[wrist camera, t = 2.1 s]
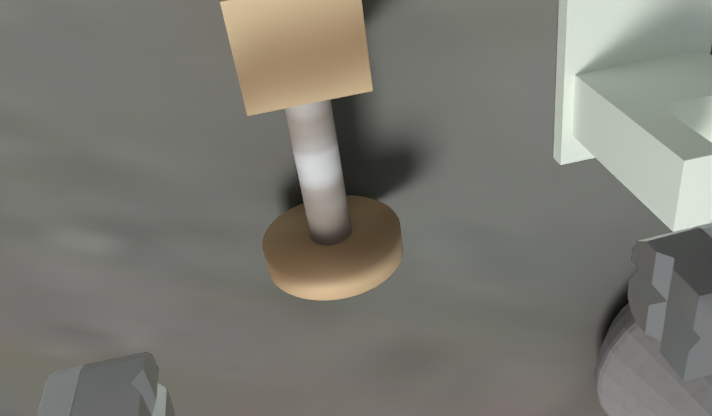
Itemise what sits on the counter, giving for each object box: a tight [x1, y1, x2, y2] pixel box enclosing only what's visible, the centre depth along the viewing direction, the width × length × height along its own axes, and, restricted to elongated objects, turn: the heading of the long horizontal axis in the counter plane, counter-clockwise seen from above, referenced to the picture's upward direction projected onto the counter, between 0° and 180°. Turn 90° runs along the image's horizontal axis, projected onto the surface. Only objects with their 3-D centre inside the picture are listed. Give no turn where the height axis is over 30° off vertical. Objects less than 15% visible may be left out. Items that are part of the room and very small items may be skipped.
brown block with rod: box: [220, 0, 403, 300], centre depth 24 cm, size 20×6×6 cm, turn 7°
